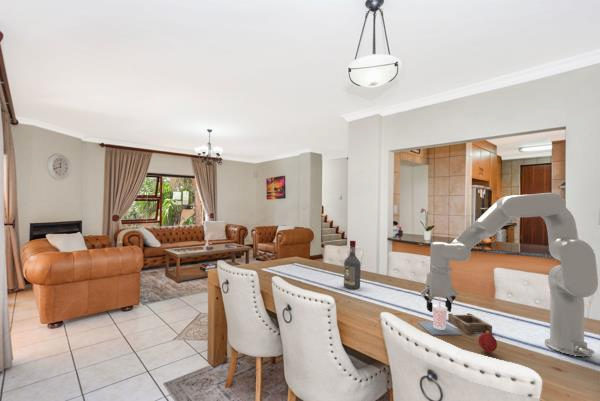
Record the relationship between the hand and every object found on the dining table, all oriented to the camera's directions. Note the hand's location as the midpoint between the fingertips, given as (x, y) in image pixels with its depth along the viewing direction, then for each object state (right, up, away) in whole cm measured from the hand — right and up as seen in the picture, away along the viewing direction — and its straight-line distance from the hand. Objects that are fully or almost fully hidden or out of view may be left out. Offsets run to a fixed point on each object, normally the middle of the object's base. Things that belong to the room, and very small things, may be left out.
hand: (438, 310), depth 126 cm
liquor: (-27, -8, +61) cm, 67 cm away
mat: (0, -8, 0) cm, 8 cm away
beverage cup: (0, -8, 0) cm, 8 cm away
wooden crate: (+14, -8, +2) cm, 16 cm away
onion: (+8, -8, -21) cm, 23 cm away
